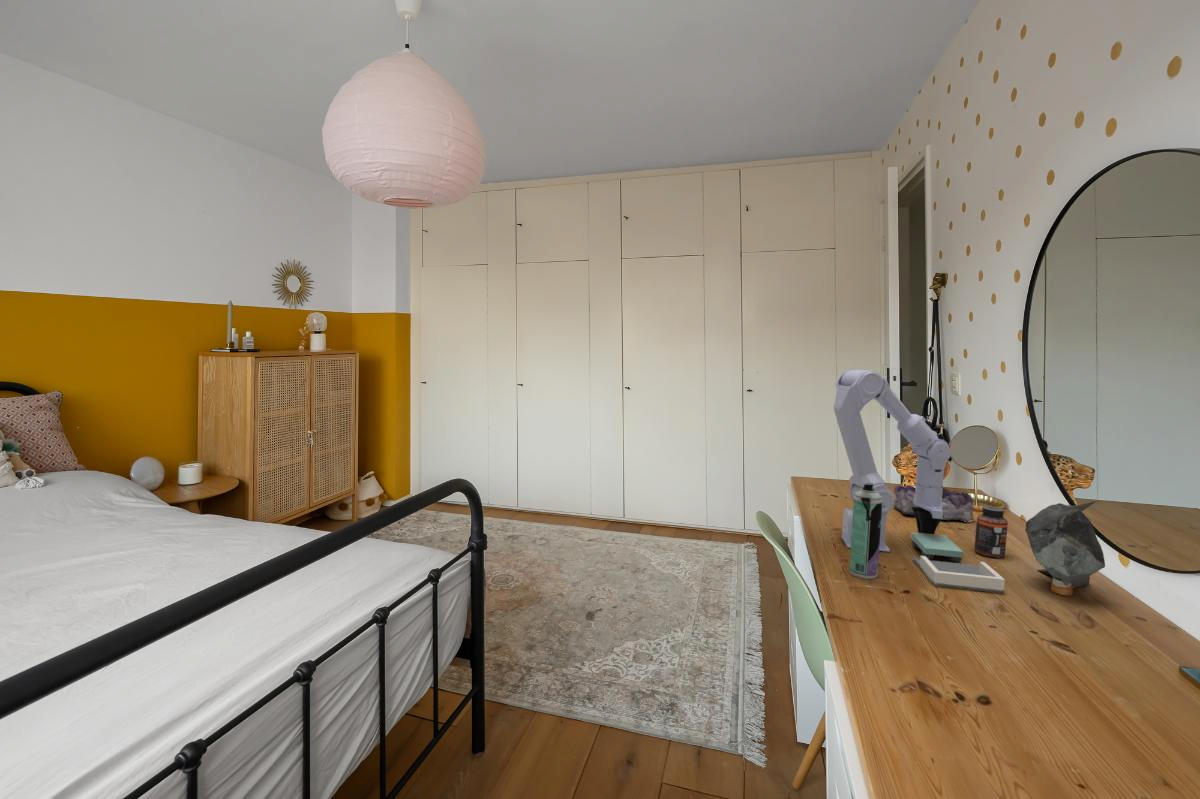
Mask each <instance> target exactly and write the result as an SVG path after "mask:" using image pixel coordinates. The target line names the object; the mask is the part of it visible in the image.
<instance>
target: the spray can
mask: <svg viewBox="0 0 1200 799" xmlns="http://www.w3.org/2000/svg"><path fill="white" fill-rule="evenodd" d="M852 508H853V520H852V537H851V548H850V553H849V554H850V555H849V556H850V558H849V573H850V574H851V575H852V576H855V577H857V578H860V579H864V580H875V579H877V578H878V574H879V573H878V572H879V560H880V558H879V557H880V551H879V546H880V530H881V515H882V496H881V495H879V494H878V493H877V492H876V490H874V488H873V484H871V483H867V484H864V487H863V488H862V489H861V490H860V491H858V492H855V496H854V501H853V507H852Z"/></svg>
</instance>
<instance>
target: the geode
mask: <svg viewBox="0 0 1200 799" xmlns="http://www.w3.org/2000/svg"><path fill="white" fill-rule="evenodd" d="M915 488H916V486H913V485H910V484H909V485H908V484H907V485H906V486H903V485H897V486H895V487H894V489H893V494H894V495H895V497H894V504H893V507H894V509H897V510H898V511H900V512H901V513H902V514H903V515H909V516H915V515H914V513H913V511H912V507H918V506H916V505H915V504H914V494H915ZM942 502H944V503H946V504H947V507H942V511H943V516H944V518H943V519H942V520H947V521H959V520H960V521H961V522H962V521H966V522H968V521H970V520H973V521H974V513H973V512H974V510H975V507H974V504H973V503H974V502H973V498H972V496H971V494H970V495H969V492H964V491H962V492H958V491H956V490H953V491H950V490H949V489H946V488H944V487H943V490H942ZM947 521H946V522H947ZM960 521H959V522H960Z"/></svg>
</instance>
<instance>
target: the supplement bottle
mask: <svg viewBox="0 0 1200 799" xmlns="http://www.w3.org/2000/svg"><path fill="white" fill-rule="evenodd" d="M1004 511H1005V510H1004V509H1003V508H1001V507H997V506H991V505H984V506H983V507H982V511H981V512H982V513H980V514H978V516H977V517H976V524H975V525H976V526H975V536H974V537H975V538H974V547H973V548H974V551H975V552H976V553H978V554H979V555H980V556H984V557H987V556H988V558H992V557H995V558H994V559H1001V558H1004V557H1005V555H1006V554H1005V553H1006V545H1007V536H1008V524H1009V522H1008V520H1007V518H1005V516H1004Z"/></svg>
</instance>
